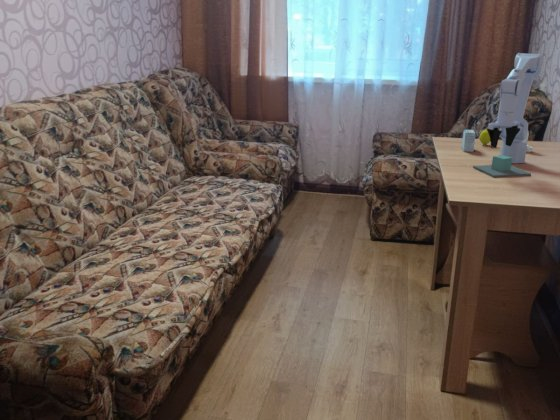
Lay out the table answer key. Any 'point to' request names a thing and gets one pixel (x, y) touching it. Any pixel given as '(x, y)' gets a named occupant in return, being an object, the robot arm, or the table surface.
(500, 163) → the cube
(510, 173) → the grey blue flat plate
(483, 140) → the fruit
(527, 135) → the cable organizer
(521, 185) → the table surface
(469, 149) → the medicine box
